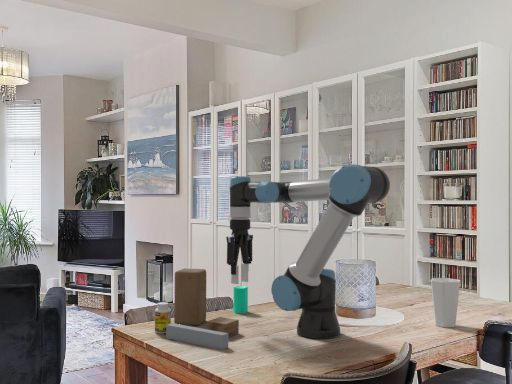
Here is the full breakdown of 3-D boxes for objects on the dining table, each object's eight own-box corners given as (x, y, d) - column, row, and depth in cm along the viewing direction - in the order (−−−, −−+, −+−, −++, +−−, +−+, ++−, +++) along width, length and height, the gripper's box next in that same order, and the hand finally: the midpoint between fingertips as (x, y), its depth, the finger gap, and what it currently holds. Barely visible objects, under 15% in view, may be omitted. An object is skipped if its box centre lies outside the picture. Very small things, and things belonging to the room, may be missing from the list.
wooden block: (199, 326, 202) (199, 272, 202) (173, 324, 204) (173, 271, 204) (206, 320, 211) (207, 268, 212) (182, 319, 213) (182, 268, 214)
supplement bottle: (151, 333, 191) (152, 304, 191) (159, 329, 196) (159, 301, 196) (166, 334, 189) (166, 305, 189) (173, 331, 194) (173, 302, 194)
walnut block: (238, 334, 191) (238, 319, 191) (225, 338, 184) (225, 324, 184) (220, 331, 195) (220, 317, 195) (206, 335, 189) (206, 321, 189)
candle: (250, 311, 229) (250, 282, 229) (243, 314, 224) (244, 284, 224) (237, 310, 232) (237, 281, 232) (230, 312, 226) (231, 283, 226)
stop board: (228, 347, 173) (228, 333, 173) (222, 349, 170) (222, 335, 170) (172, 336, 186) (172, 323, 186) (166, 338, 184) (166, 324, 184)
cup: (433, 321, 212) (433, 277, 212) (461, 323, 207) (461, 279, 208) (429, 327, 202) (429, 281, 202) (458, 330, 197) (458, 283, 198)
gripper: (246, 217, 208) (246, 278, 208) (216, 219, 193) (216, 284, 193) (262, 218, 204) (262, 280, 204) (233, 219, 189) (232, 286, 189)
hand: (239, 282), depth 198 cm, fingers open, 5 cm apart
